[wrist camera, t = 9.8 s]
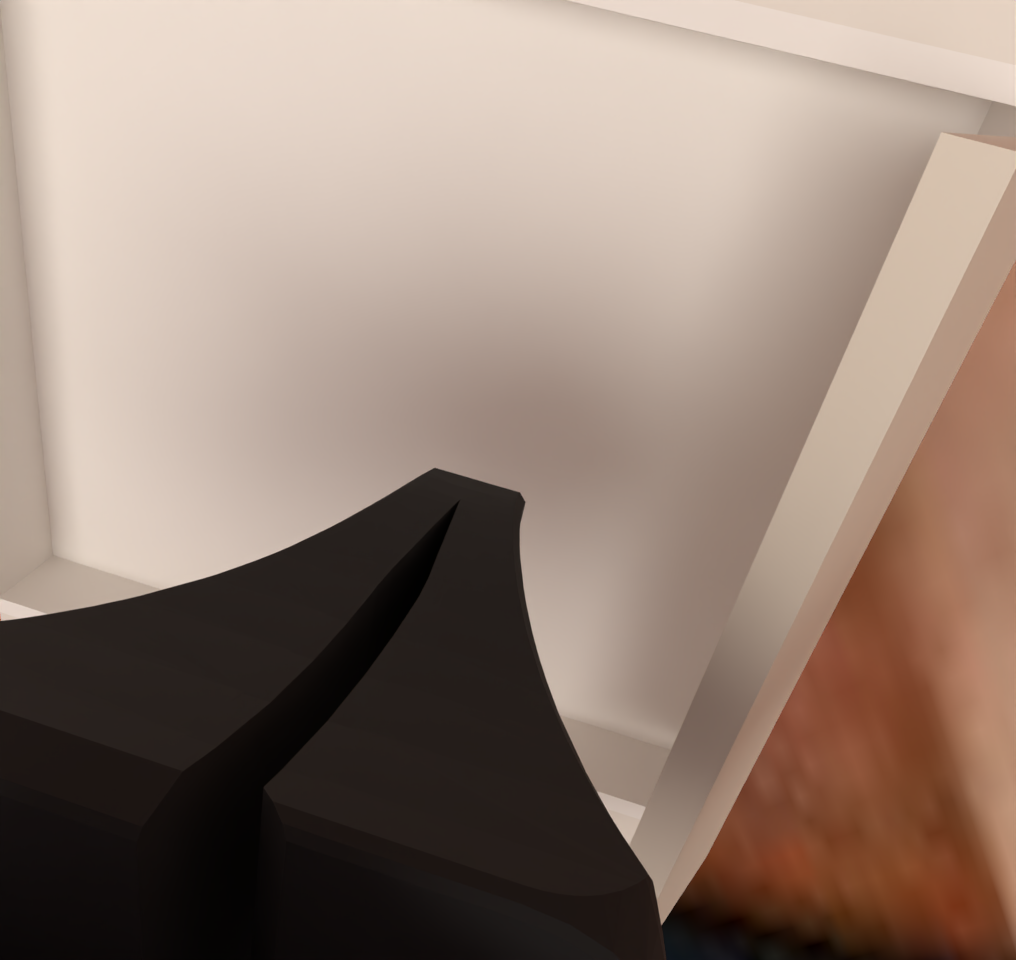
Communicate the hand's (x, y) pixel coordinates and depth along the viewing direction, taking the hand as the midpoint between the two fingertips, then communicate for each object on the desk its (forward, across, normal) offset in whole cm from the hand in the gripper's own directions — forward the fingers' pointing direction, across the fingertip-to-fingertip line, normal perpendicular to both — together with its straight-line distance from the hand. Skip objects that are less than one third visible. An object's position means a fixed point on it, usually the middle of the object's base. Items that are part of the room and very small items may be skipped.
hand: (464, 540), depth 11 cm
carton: (+4, +2, 0) cm, 5 cm away
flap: (0, -4, 0) cm, 4 cm away
